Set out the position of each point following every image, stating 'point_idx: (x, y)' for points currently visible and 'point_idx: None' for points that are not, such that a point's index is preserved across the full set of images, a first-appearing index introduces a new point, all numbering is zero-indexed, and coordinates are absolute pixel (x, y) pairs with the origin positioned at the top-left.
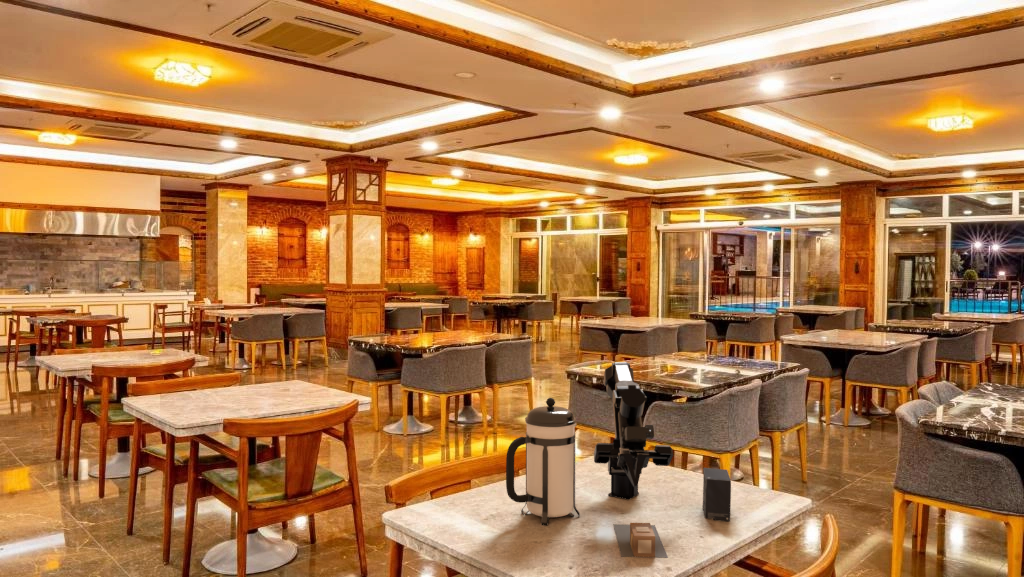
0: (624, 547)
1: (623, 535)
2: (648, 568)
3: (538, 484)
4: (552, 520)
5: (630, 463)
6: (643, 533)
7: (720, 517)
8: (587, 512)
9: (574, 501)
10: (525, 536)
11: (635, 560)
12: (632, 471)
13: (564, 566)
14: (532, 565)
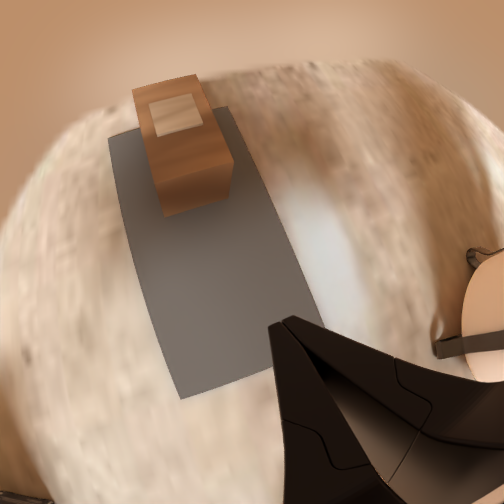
0: (233, 156)
1: (264, 248)
2: None
3: None
4: None
5: (447, 416)
6: (169, 93)
7: (12, 497)
8: None
9: (479, 339)
10: (459, 179)
11: None
12: (369, 369)
13: (324, 66)
14: (370, 67)
